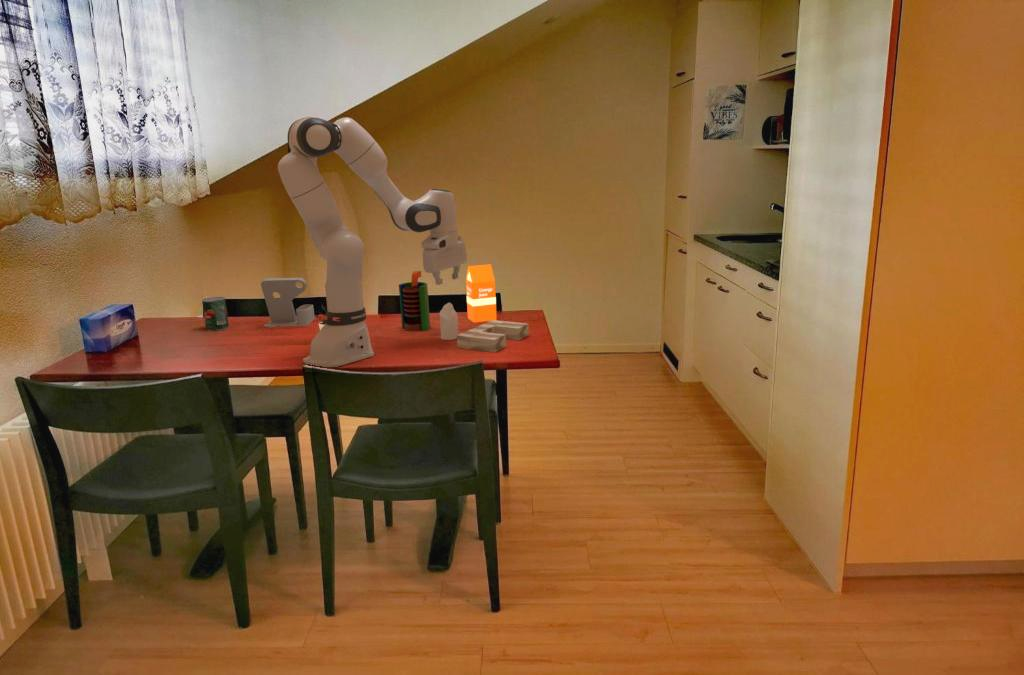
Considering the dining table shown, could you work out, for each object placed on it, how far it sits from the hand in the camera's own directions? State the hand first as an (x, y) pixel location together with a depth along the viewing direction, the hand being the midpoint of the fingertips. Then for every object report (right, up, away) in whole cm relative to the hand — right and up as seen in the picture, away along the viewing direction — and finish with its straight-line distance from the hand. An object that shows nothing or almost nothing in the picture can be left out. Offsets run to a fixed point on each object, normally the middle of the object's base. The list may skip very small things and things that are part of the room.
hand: (447, 281), depth 240 cm
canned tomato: (-87, -15, +29) cm, 93 cm away
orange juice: (+10, -12, +29) cm, 33 cm away
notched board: (+15, -20, -1) cm, 25 cm away
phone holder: (-61, -14, +32) cm, 70 cm away
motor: (-13, -15, +20) cm, 28 cm away
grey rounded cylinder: (0, -19, +5) cm, 19 cm away
